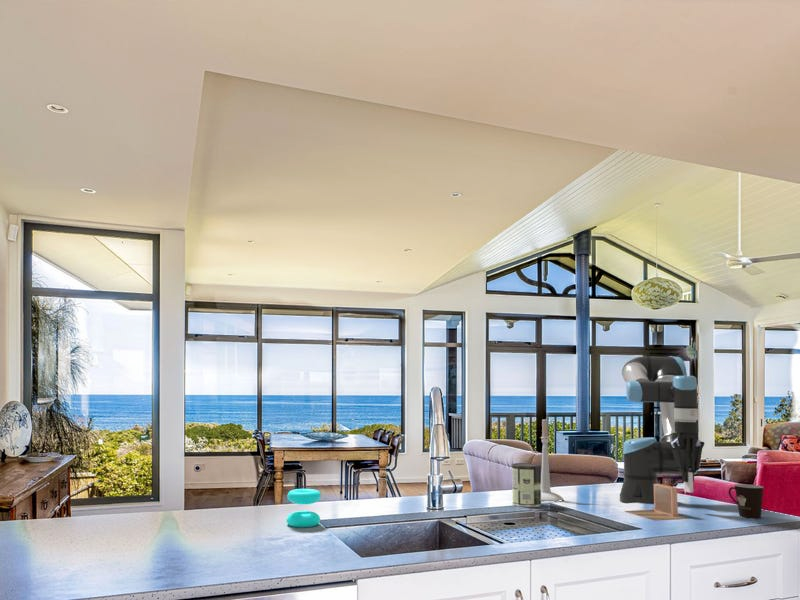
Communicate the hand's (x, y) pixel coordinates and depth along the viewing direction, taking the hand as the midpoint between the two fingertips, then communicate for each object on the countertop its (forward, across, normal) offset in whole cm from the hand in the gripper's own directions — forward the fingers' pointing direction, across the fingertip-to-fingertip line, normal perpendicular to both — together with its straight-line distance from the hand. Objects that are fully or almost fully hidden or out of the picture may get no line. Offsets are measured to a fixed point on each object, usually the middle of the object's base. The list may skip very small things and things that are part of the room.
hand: (688, 491), depth 232 cm
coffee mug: (+8, +18, -7) cm, 21 cm away
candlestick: (+8, -32, +39) cm, 51 cm away
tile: (+7, -10, 0) cm, 12 cm away
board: (+8, -14, -1) cm, 16 cm away
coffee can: (+8, -45, +30) cm, 55 cm away
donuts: (+8, -128, +16) cm, 129 cm away
